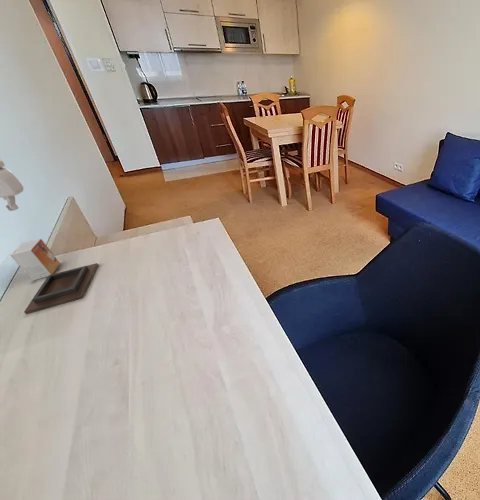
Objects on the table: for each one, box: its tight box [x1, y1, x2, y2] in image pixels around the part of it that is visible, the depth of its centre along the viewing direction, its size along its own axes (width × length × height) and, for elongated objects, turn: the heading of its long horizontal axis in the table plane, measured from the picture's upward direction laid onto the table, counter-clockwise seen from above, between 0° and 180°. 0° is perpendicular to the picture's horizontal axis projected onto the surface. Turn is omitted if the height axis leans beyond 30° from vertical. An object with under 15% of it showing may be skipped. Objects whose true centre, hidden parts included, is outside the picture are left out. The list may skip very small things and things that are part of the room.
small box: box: [9, 238, 61, 281], centre depth 100 cm, size 8×6×10 cm
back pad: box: [23, 262, 100, 315], centre depth 94 cm, size 14×18×2 cm
